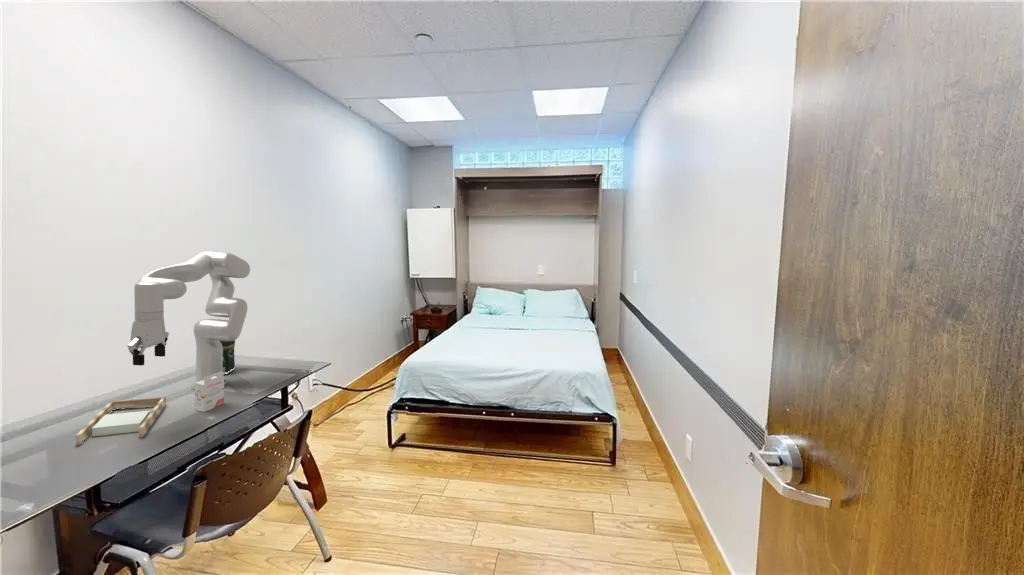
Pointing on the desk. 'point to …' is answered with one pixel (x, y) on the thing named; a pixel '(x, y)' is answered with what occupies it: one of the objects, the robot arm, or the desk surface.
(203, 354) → the robot arm
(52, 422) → the desk surface
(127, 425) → the cover plate
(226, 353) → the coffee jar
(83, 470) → the desk surface
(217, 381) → the ink cartridge box
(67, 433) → the desk surface
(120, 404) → the wooden frame
